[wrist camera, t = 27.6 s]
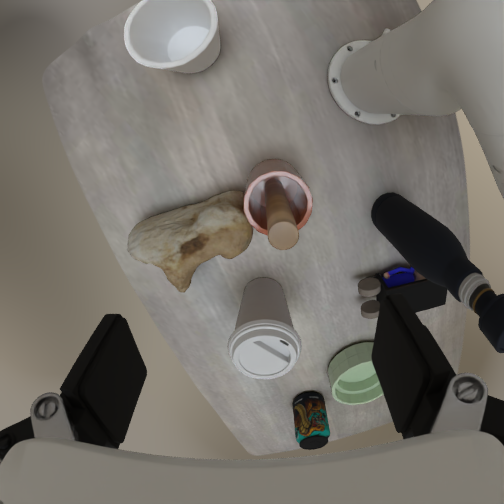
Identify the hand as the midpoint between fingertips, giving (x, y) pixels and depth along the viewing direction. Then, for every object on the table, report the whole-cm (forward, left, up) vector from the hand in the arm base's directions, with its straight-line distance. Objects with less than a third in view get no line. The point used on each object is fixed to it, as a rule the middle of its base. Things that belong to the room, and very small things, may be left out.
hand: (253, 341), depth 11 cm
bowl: (+26, +34, -34) cm, 55 cm away
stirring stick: (+1, +3, -34) cm, 34 cm away
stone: (+12, -4, -34) cm, 37 cm away
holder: (+1, +3, -34) cm, 34 cm away
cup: (-13, -15, -34) cm, 40 cm away
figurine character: (+6, +29, -34) cm, 45 cm away
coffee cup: (+18, +9, -34) cm, 40 cm away
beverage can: (+40, +30, -34) cm, 61 cm away
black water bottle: (-3, +21, -34) cm, 40 cm away
